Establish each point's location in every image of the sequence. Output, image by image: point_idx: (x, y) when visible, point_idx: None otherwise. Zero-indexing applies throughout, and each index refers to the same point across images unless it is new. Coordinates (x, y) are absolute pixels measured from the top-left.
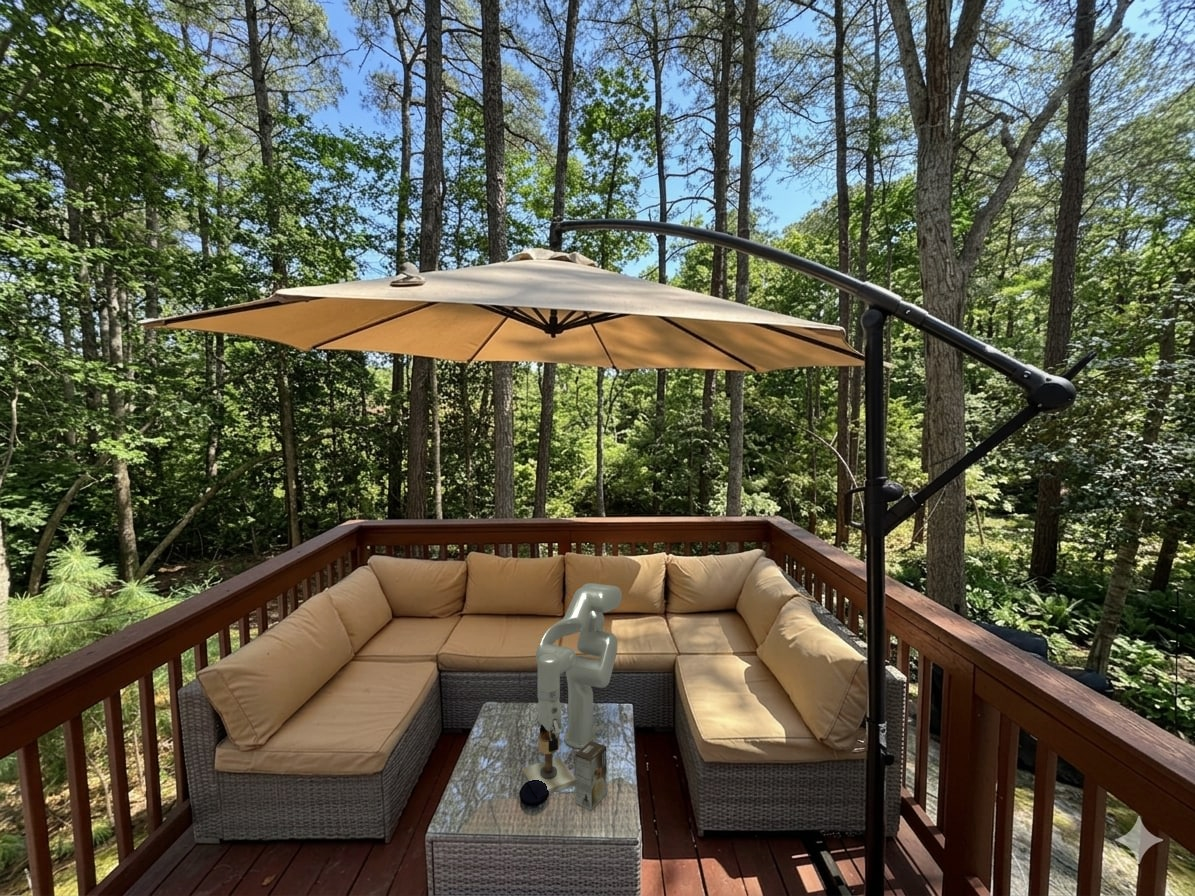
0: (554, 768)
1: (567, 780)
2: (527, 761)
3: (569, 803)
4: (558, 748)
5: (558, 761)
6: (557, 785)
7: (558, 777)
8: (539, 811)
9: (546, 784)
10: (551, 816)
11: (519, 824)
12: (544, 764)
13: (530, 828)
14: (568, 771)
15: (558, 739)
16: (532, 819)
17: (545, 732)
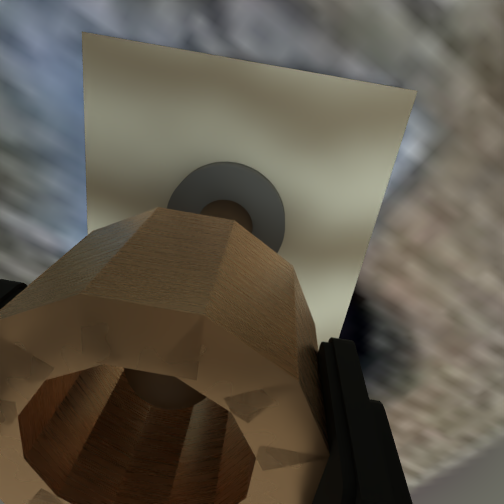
0: (225, 178)
1: (376, 155)
2: (5, 213)
3: (494, 225)
4: (294, 278)
5: (139, 77)
6: (367, 238)
7: (304, 188)
8: (409, 364)
9: (309, 283)
10: (483, 343)
11: (406, 448)
12: (120, 187)
13: (461, 432)
14: (295, 83)
15: (300, 366)
16: (425, 405)
17: (6, 439)
